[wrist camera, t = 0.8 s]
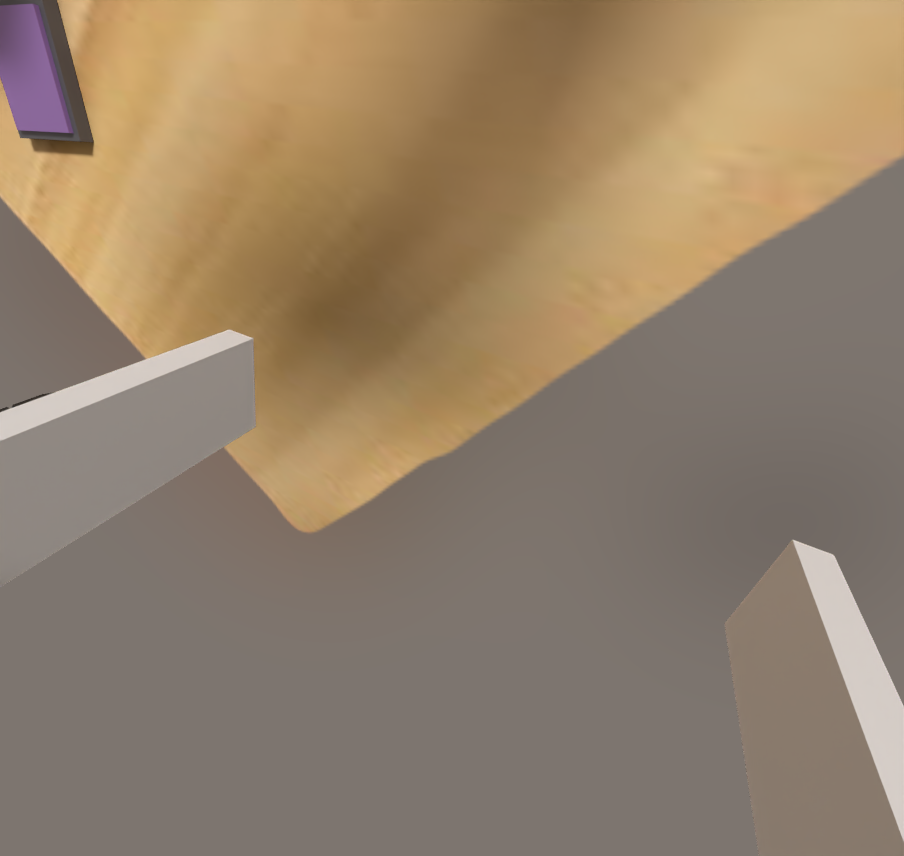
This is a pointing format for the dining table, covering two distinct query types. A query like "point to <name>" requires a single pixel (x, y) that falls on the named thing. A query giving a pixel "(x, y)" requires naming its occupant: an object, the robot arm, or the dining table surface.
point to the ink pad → (40, 72)
